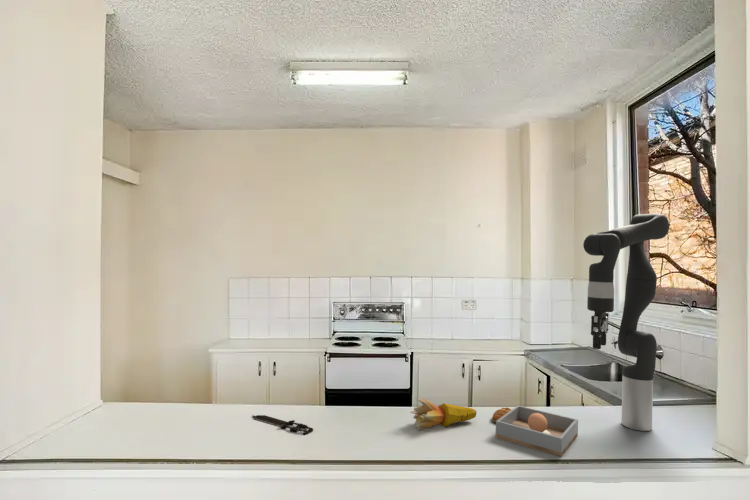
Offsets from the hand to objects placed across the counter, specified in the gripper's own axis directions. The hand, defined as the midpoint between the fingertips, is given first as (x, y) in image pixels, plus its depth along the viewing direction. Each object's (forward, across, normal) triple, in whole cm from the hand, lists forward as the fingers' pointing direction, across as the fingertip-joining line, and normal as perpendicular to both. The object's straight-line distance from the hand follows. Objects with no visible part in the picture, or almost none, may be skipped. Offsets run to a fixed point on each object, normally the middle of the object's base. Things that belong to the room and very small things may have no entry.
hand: (599, 346), depth 138 cm
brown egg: (+26, -9, +16) cm, 32 cm away
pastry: (+31, -2, +30) cm, 43 cm away
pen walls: (+29, -9, +16) cm, 34 cm away
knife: (+31, -58, +85) cm, 107 cm away
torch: (+30, -21, +43) cm, 57 cm away
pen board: (+30, -9, +16) cm, 35 cm away
